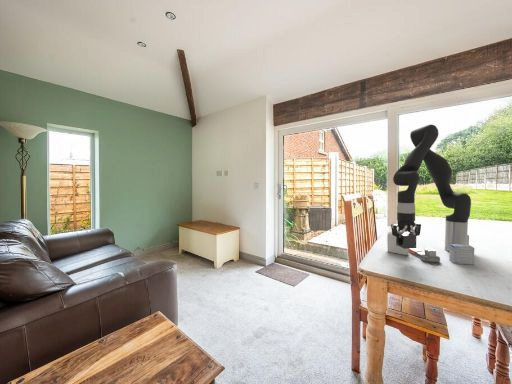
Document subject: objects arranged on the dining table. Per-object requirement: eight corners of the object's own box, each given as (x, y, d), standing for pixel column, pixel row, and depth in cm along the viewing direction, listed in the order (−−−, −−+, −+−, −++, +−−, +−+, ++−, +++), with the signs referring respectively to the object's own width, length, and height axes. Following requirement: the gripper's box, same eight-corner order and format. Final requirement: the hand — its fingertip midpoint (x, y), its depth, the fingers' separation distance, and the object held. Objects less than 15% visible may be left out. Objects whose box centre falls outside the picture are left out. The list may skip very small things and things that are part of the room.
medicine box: (468, 261, 108) (469, 244, 107) (474, 265, 103) (474, 247, 103) (449, 260, 110) (449, 243, 110) (453, 263, 106) (454, 246, 105)
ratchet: (416, 251, 124) (416, 241, 124) (444, 263, 106) (444, 251, 106) (403, 251, 124) (403, 241, 124) (428, 264, 106) (428, 252, 106)
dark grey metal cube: (407, 244, 112) (407, 232, 112) (416, 248, 106) (416, 235, 106) (396, 244, 112) (396, 232, 112) (404, 248, 106) (404, 235, 106)
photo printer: (386, 251, 125) (386, 230, 124) (388, 249, 128) (389, 229, 127) (406, 256, 117) (407, 233, 116) (409, 254, 120) (409, 232, 119)
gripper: (414, 209, 112) (414, 241, 113) (387, 210, 112) (387, 242, 113) (426, 211, 104) (425, 245, 105) (396, 213, 104) (396, 247, 105)
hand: (405, 244), depth 109 cm, fingers closed on dark grey metal cube, 6 cm apart
